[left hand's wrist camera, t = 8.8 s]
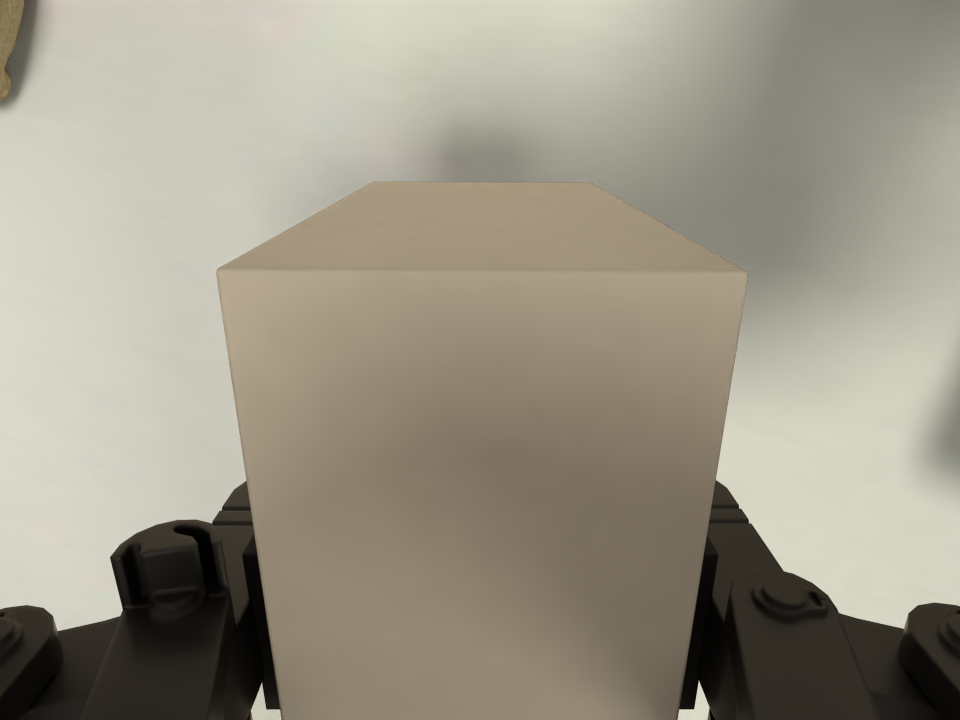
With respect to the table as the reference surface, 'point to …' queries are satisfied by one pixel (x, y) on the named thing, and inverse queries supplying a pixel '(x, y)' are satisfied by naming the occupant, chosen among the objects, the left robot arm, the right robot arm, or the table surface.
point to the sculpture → (8, 38)
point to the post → (480, 449)
